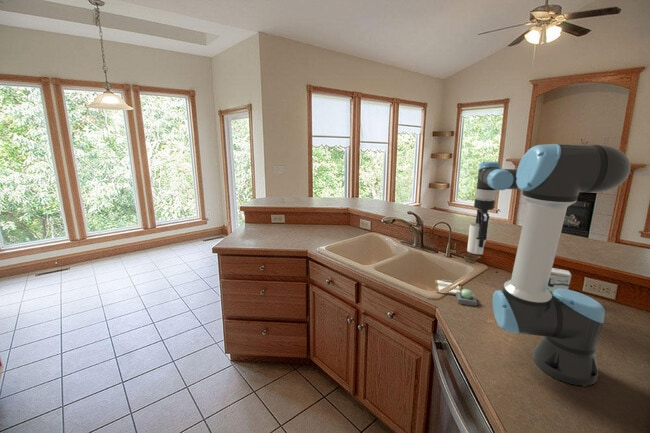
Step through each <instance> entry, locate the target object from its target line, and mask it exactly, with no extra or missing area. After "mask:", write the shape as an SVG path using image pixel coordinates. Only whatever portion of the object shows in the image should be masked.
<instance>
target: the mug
mask: <svg viewBox="0 0 650 433" xmlns="http://www.w3.org/2000/svg"><path fill="white" fill-rule="evenodd" d="M479 228H480V227H479V224H477V223H476V222H472V223H469V232H468V239H467V240H468V241H467V247H466V248H467V249H466V251H467V252H468V253H469V254H473V255H477V254H476V246H477V239H476V238H478V236H479ZM488 233H489V230H488V228H487V237H486V238H487V239H488ZM482 237H483V236H482ZM487 239H486V240H485V243H484V245H485V244H486V242H487ZM484 249H485V248H484ZM484 249H483V251H484Z"/></svg>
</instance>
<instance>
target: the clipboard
mask: <svg viewBox="0 0 650 433" xmlns="http://www.w3.org/2000/svg"><path fill="white" fill-rule="evenodd" d="M454 282H455V281H454V280H451V279H434V284H435V291H440V290H441V289H443V288H445V287H447V286H449V285H450V284H452V283H454ZM462 290H463V289H462V286H461V285H460V286H457V287H456V288H455V289H453V290H451V291H449V292H448V293H447V294H446V295H448V296H455V297H456V291H457V292H462Z"/></svg>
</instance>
